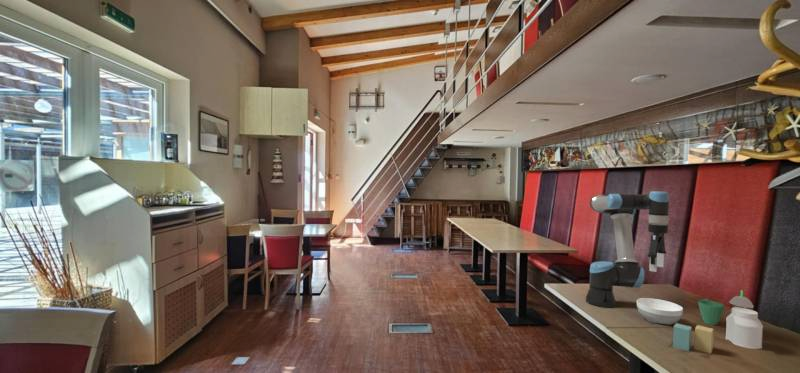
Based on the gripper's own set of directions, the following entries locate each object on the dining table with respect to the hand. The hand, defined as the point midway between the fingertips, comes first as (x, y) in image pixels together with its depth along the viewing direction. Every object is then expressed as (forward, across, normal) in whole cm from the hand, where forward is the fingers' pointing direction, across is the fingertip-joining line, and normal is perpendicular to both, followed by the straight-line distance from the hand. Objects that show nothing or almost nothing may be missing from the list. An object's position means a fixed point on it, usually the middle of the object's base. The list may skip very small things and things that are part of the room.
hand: (656, 269), depth 171 cm
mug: (+29, +33, -16) cm, 47 cm away
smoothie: (+29, +26, -28) cm, 48 cm away
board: (+29, -14, -16) cm, 35 cm away
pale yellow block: (+28, -12, -19) cm, 36 cm away
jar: (+29, +10, -30) cm, 43 cm away
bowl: (+29, +13, +1) cm, 32 cm away
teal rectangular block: (+28, -16, -13) cm, 34 cm away
